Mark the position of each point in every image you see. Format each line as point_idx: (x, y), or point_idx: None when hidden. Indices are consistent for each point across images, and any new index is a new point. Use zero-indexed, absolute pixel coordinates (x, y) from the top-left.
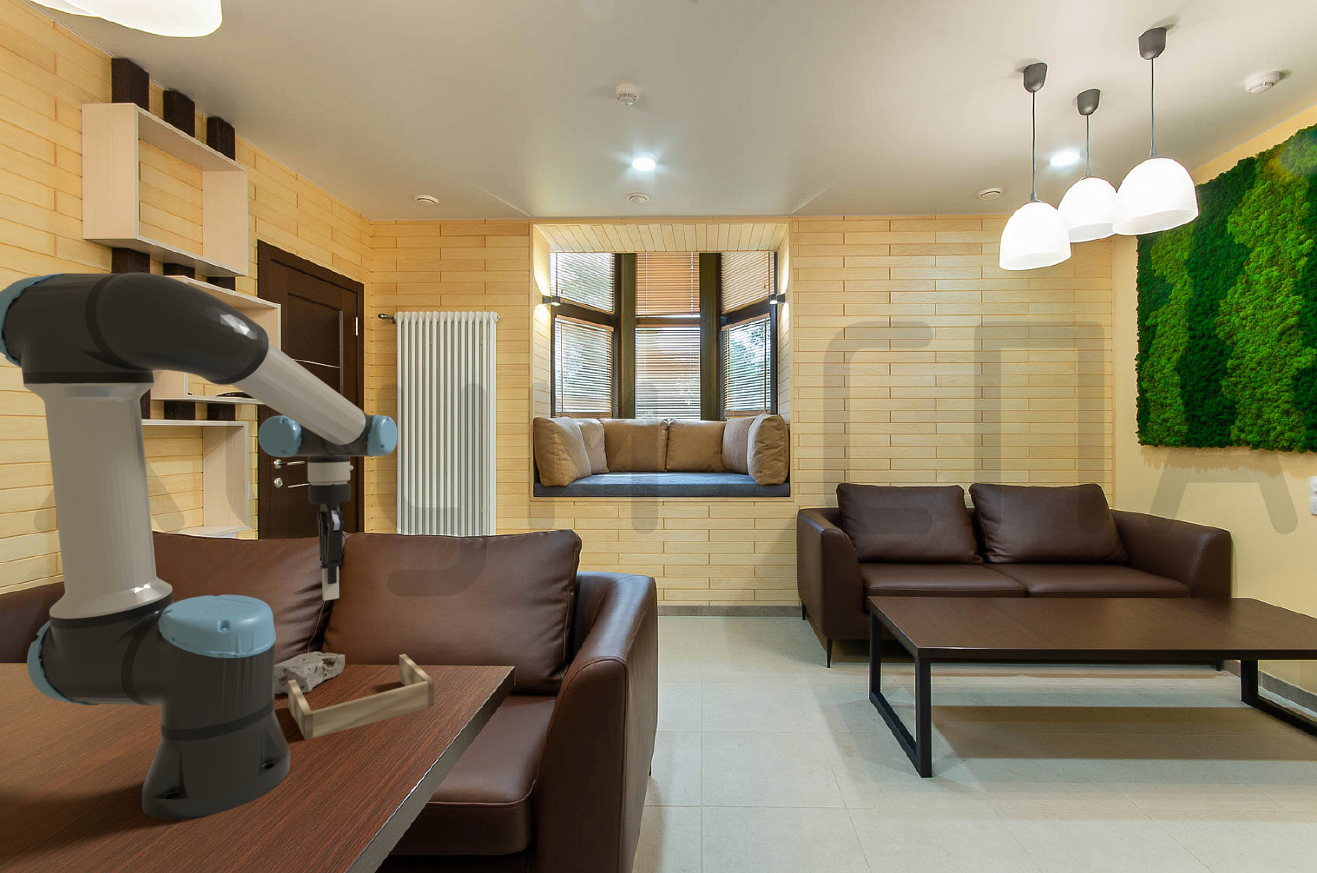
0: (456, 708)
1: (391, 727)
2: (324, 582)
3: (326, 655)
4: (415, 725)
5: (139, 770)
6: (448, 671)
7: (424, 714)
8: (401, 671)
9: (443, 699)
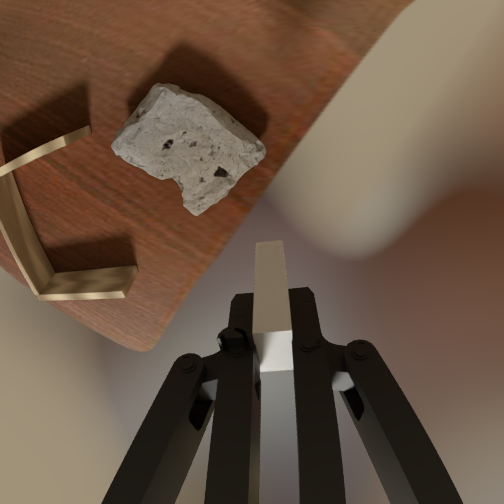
0: None
1: None
2: (255, 286)
3: (214, 184)
4: None
5: (24, 13)
6: (151, 315)
7: None
8: (120, 277)
9: None
